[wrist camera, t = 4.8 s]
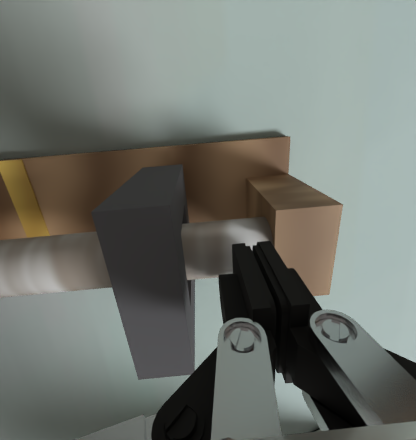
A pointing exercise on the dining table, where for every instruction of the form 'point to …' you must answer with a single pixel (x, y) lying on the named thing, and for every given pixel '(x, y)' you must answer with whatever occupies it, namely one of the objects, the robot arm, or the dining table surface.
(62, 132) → the dining table surface
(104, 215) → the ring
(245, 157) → the pipe stand
